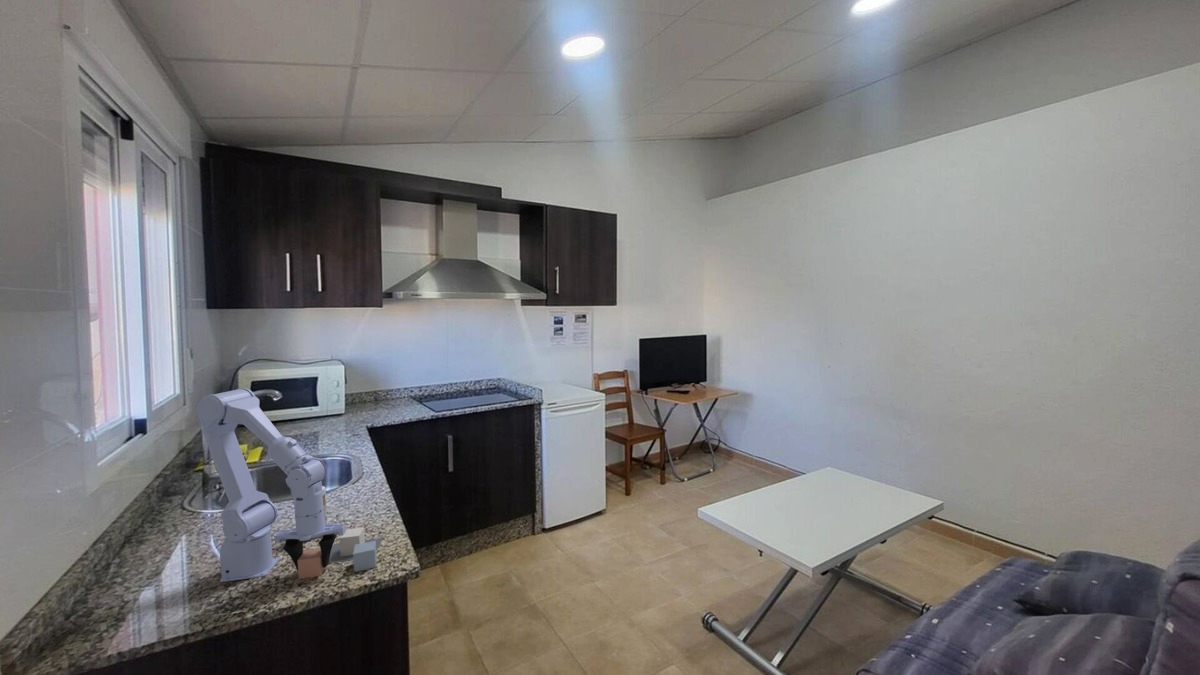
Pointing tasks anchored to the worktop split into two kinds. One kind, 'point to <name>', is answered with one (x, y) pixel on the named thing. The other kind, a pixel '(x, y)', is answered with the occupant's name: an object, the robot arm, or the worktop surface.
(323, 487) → the sprinkles bottle
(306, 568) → the terracotta brick
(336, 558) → the mat
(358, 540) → the cream brick
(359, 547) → the slate brick
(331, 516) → the worktop surface
